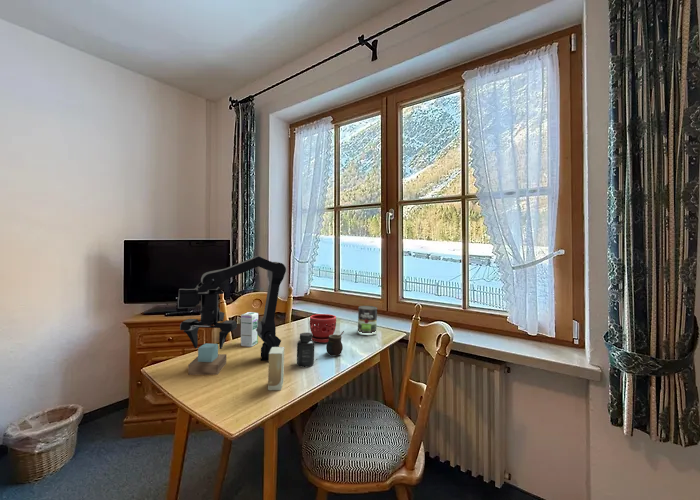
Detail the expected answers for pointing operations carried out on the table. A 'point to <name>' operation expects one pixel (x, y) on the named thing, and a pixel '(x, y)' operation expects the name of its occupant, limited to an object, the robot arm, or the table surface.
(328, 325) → the plant pot
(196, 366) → the walnut block
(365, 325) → the coffee can
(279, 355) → the skincare box
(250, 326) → the syrup box
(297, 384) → the table surface
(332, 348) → the mate gourd
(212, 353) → the teal cube
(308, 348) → the supplement bottle
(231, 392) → the table surface
